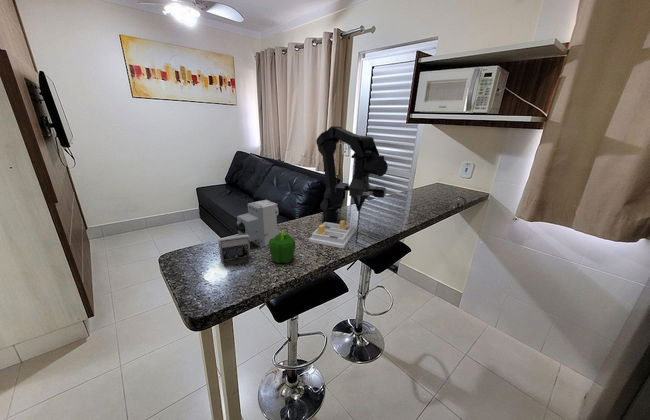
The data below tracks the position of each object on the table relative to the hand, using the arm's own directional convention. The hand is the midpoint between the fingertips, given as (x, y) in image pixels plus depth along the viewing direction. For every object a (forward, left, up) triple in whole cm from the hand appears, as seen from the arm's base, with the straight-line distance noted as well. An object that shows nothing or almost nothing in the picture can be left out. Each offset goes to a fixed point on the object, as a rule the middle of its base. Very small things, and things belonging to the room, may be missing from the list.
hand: (358, 211), depth 99 cm
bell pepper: (-18, -28, -11) cm, 35 cm away
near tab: (-12, -8, -10) cm, 18 cm away
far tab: (-6, 0, -10) cm, 12 cm away
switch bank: (-9, -4, -11) cm, 15 cm away
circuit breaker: (-33, -21, -11) cm, 41 cm away
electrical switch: (-31, -35, -11) cm, 48 cm away
